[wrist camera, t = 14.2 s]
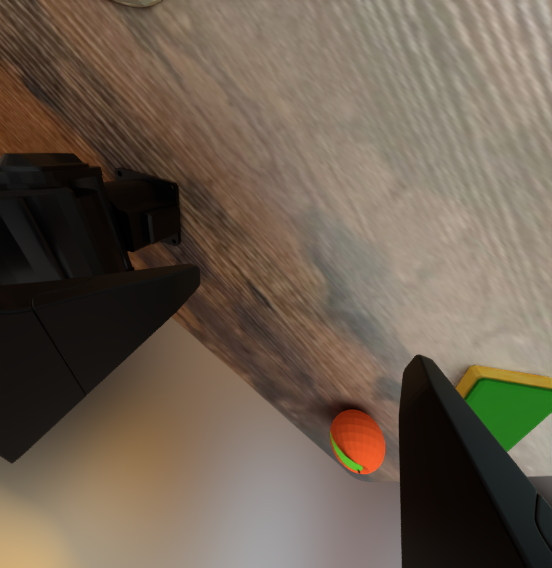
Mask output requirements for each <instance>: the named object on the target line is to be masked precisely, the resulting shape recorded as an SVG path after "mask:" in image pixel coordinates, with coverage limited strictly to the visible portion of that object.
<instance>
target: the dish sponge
mask: <svg viewBox="0 0 552 568" xmlns="http://www.w3.org/2000/svg"><path fill="white" fill-rule="evenodd" d="M455 389H456V390H457V391H458V392H459V394H460V395H461V396H462V397H463V398H464V400H465V401H466V402H467V403H468V405H469V406H470V407H471V408H472V410H473V411H474V412H475V413H476V415H477V416H478V417H479V418H480V420H481V421H482V422H483V423H484V425H485V426H486V427H487V428H488V430H489V431H490V432H491V433H492V435H493V436H494V437H495V438H496V439H497V441H498V442H499V443H500V444H501V446H502V447H503V448H504V449H505V451H506V452H508V451H509V450H510V449H511V448H512V447H513V446H514V445H516V444H517V443H518V442H519V441H520V440H521V439H522V438H523V437H525V436H526V435H527V434H528V433H529V432H530V431H531V430H532V429H534V428H535V427H536V426H537V425H538V424H539V423H540V422H541V421H543V420H544V419H545V418H546V417H547V416H548V415H549V414H551V413H552V379H551V378H550V377H545V376H539V375H533V374H527V373H520V372H514V371H508V370H502V369H496V368H489V367H483V366H477V365H474V366H471V367H469V369H468V370H467V372H466V373H465V375H464V376H463V378H462V379H461V381H460V382H459V384H458V385H457V387H456V388H455Z"/></svg>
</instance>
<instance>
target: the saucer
mask: <svg viewBox="0 0 552 568" xmlns="http://www.w3.org/2000/svg"><path fill="white" fill-rule="evenodd" d="M114 1H116V2H118V3H120V4H123V5H126V6H130V7H139V8H141V7H148V6H152V5H154V4H157V3H159V2H161V1H162V0H114Z"/></svg>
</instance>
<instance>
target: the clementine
mask: <svg viewBox="0 0 552 568" xmlns="http://www.w3.org/2000/svg"><path fill="white" fill-rule="evenodd" d="M329 431H330V441H331V445H332V448H333V451H334V453H335V455H336V457H337V458H338V460H339V461H340V462H341V463H342V464H343V465H344V466H345V467H346V468H347V469H349V470H350V471H352V472H355V473H359V474H369V473H371V472H373V471H375V470H376V469H377V468H379V466H380V465H381V463H382V462H383V459H384V455H385V441H384V437H383V434H382V431H381V430H380V428H379V426H378V425H377V423H376V422H375V421H374V420H373V419H372V418H371V417H370V416H369V415H367V414H365V413H363V412H361V411H359V410H354V409H350V410H346V411H343V412H341V413H340V414H338V415H337V416H336V417H335V419H334V421H333V423H332V425H331V430H329Z"/></svg>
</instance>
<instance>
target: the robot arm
mask: <svg viewBox="0 0 552 568" xmlns="http://www.w3.org/2000/svg"><path fill="white" fill-rule="evenodd" d="M121 173H122V174H121ZM115 174H116V179H117V181H111V182H103V179H102V176H101V175H103V174H102V171H101V168H100V167H96V166H89V165H88V164H87V163H84V162H82V161H81V160H80V159H79V158H78V157H77V156H76V155H75V154H71V153H4V154H3V155H2V157H1V158H0V456H1V457H2V458H4V459H5V460H7V461H8V462H10V463H14V462H15V461H16V460H18V459H19V458H20V457H21V456H22V455H23V454H24V453H26V452H27V451H28V450H29V449H30V448H31V447H32V446H33V445H34V444H35V443H36V442H37V441H38V440H39V439H41V438H42V437H43V436H44V435H45V434H46V433H47V432H48V431H49V430H50V429H51V428H52V427H53V426H54V425H56V424H57V423H58V422H59V421H60V420H61V419H62V418H63V417H64V416H65V415H66V414H67V413H68V412H70V411H71V410H72V409H73V408H74V407H75V406H76V405H77V404H78V403H79V402H80V401H81V400H82V399H84V397H86V395H87V394H89V393H90V392H91V391H92V390H93V389H94V388H95V387H96V386H97V385H98V384H99V383H101V382H102V381H103V380H104V379H105V378H106V377H107V376H108V375H109V374H110V373H111V372H112V371H113V370H114V369H115V368H117V367H118V366H119V365H120V364H121V363H122V362H123V361H124V360H125V359H126V358H127V357H128V356H130V355H131V354H132V353H133V352H134V351H135V350H136V349H137V348H138V347H139V346H140V345H141V344H142V343H144V342H145V341H146V340H147V339H148V338H149V337H150V336H151V335H152V334H153V333H154V332H155V331H156V330H157V329H158V328H160V327H161V326H162V325H163V324H164V323H165V322H166V321H167V320H168V319H169V318H170V317H171V316H173V315H174V314H175V313H176V312H177V311H178V310H179V309H180V307H181V306H182V305H183V304H184V303H185V302H186V301H187V300H188V298H189V297H190V296H191V295H192V294H193V293H194V292H195V290H196V289H197V288H198V287H199V285H200V269H199V267H198V266H196V265H194V264H182V265H174V266H166V267H158V268H151V269H143V270H135V269H134V267H132V264H131V261H130V259H129V256H128V253H127V252H128V251H130V252H135V251H137V250H139V249H141V248H143V247H145V246H148V245H150V244H155V243H157V242H159V241H161V242H164V243H167V244H170V245H174V246H177V245H179V244H180V242H181V238H180V231H181V227H180V208H179V192H178V186H177V184H176V183H175V182H172V181H169V180H165V179H161V178H158V177H154V176H151V175H147V174H143V173H140V172H136V171H132V170H129V169H125V168H116V170H115ZM171 185H172V186H173V189H172V188H171ZM175 240H176V242H175ZM399 459H400V502H401V549H402V568H552V508H551V506H550V505H549V504H548V503H547V501H546V500H545V499H544V498H543V496H542V495H541V494H539V493H537V489H536V488H535V487H534V485H533V484H532V483H531V482H530V481H529V479H528V478H527V477H526V476H525V474H524V473H523V472H522V471H521V469H520V468H519V467H518V466H517V464H516V463H515V462H514V461H513V459H512V458H511V457H510V456H509V454H508V453H507V452H506V451H505V449H504V448H503V447H502V446H501V444H500V443H499V442H498V441H497V439H496V438H495V437H494V436H493V435H492V433H491V432H490V431H489V430H488V428H487V427H486V426H485V425H484V423H483V422H482V421H481V420H480V418H479V417H478V416H477V415H476V413H475V412H474V411H473V410H472V408H471V407H470V406H469V405H468V403H467V402H466V401H465V400H464V398H463V397H462V396H461V395H460V394H459V392H458V391H457V390H456V389H455V387H454V386H453V385H452V384H451V382H450V381H449V380H448V379H447V377H446V376H445V375H444V374H443V372H442V371H441V370H440V369H439V367H438V366H437V365H436V364H435V362H434V361H433V360H432V359H430V358H428V357H425V356H423V355H420V354H419V355H416V356H415V357H414V358H413V359H412V361H411V362H410V363H409V364H408V366H407V367H406V368H405V370H404V372H403V379H402V388H401V398H400V408H399Z"/></svg>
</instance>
